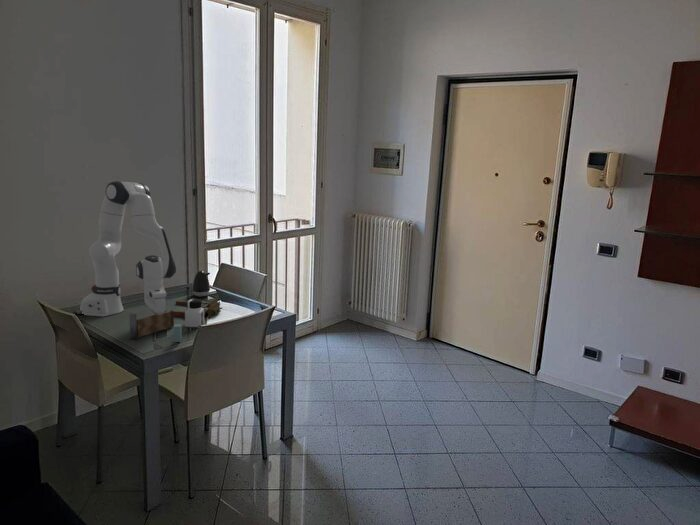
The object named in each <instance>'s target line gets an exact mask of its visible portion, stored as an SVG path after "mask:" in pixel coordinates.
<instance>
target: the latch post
mask: <svg viewBox="0 0 700 525" xmlns="http://www.w3.org/2000/svg"><path fill="white" fill-rule="evenodd" d="M172 328H173V343H174V342H181V343H182V341H183V336H182V335H183V334H182V333H183V332H182V323H177V324H176V323H174V326H173V327H172ZM181 340H182V341H181Z"/></svg>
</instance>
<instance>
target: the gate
mask: <svg viewBox="0 0 700 525" xmlns="http://www.w3.org/2000/svg"><path fill="white" fill-rule="evenodd" d="M165 311H166V312H164V313H161V314H156V315H152V314H151V315H149V316H146V317H145V316H144V317H143V318H139V319H137V338H140V337H145V336H147V335H150V334H153V333H156V332H159V331H163V330H166V329H169V328H174V327H173V326H174V325H175V322H174V321H175V320H174V319H175V316H174V313H173V311H174V310H172V309H171V310H165Z"/></svg>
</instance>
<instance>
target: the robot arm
mask: <svg viewBox="0 0 700 525" xmlns="http://www.w3.org/2000/svg"><path fill="white" fill-rule="evenodd" d="M127 206H128V207H129V210H130V221H131V226H132V228H133V230H134V231H135V232H137V233H138V234H140V235H143V236H145V237H149V238H152V239H154V240H156V241H157V244H158V247H159V250H160V254H161V257H160V256H158V255H147V256H145V257H144V258H143V259H142V260H138V262H137V263H136V265H135V273H136V274H135V275H136V276H137V277H138V278H139V279H141V280H143V281H144V282H143V294H144V295H143V296H144V297H143V298H144V304H145V305H146V306H148V307H149V308H150V311H151V312H150V313H151V316H152V315H156V314H161V313H164V312H165V311H166V297H167V291H166V290H165V287H164V279H171V278H172V277H173V276H174V275H175V274H176V273H177V267H176V263H175V260H174V258H173V255H172V252H171V248H170V247H171V246H170V245H169V241H168V238H167V234H166V231H165V230H164V227H163V226H161V225H159V223H158V221H157V220H156V211H155V207H154V202H153V200H152V197H151V191H150V189H149V187H148V186H147V185H146V184H144V183H141V182H134V181H118V180H117V181H112V182H109V183H107V186H106V188H105V196H104V197H103V200H102V203H101V207H100V212H99V217H98V223H97V224H98V225H97V226H98V230H99V231H98V239H97V240H95V241H94V242H93V243H92V244H91V245H90V247H89V249H88V256H89V258H90V259H91V262H92V265H93V270H94V276H95V280H94V281H95V283H94V284H93V285H92V287H91V288H90V289H91V290H90V291H92V292H91V293H89V294H88V295H86V296H85V297H84V298H83V299H82V300H81V302H80V306H79V307H80V310H81V311H83V312H82V314H84V315H83V316H94V317H107V316H110V315H115V314H119V313H121V312H123V311H124V310H125V309H124V306H123V303H122V299H121V290H122V289H121V284H120V279H119V278H120V276H119V275H120V274H119V272H120V271H119V269H118V267H117V264H116V255H118V254H119V253H120V251H121V249H122V229H123V222H124V219H125V212H126V209H127V208H126V207H127Z"/></svg>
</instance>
